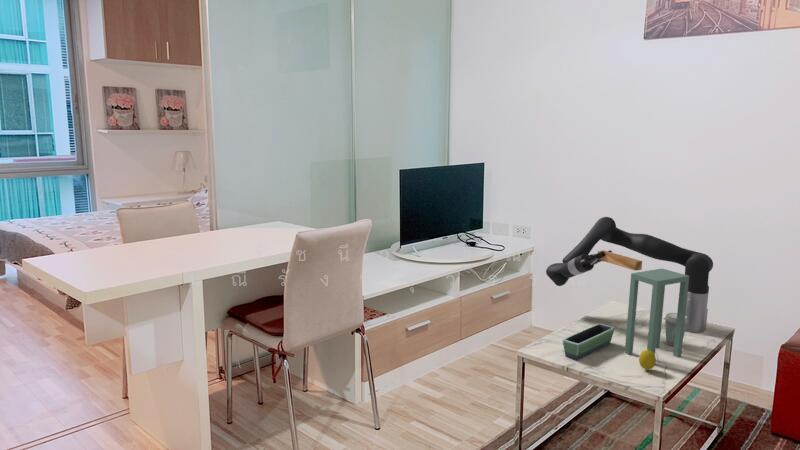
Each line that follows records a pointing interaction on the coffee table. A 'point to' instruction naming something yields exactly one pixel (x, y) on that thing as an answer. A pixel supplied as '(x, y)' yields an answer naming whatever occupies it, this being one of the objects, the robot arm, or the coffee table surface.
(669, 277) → the tall green stool
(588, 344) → the planter
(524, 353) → the coffee table surface
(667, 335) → the coffee cup
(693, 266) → the robot arm
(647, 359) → the lemon
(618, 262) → the block
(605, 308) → the coffee table surface
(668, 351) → the coffee table surface
